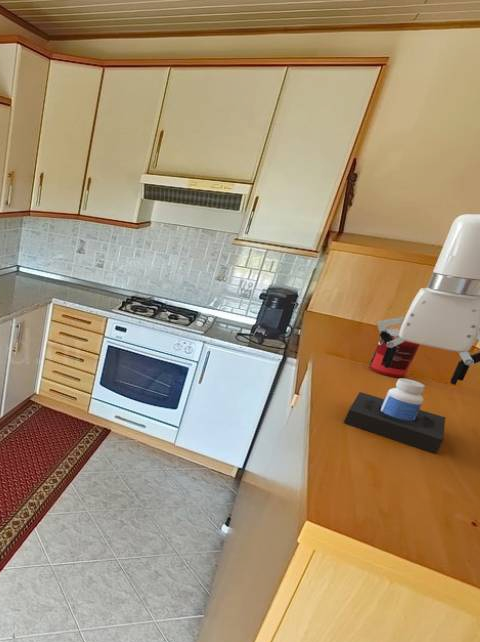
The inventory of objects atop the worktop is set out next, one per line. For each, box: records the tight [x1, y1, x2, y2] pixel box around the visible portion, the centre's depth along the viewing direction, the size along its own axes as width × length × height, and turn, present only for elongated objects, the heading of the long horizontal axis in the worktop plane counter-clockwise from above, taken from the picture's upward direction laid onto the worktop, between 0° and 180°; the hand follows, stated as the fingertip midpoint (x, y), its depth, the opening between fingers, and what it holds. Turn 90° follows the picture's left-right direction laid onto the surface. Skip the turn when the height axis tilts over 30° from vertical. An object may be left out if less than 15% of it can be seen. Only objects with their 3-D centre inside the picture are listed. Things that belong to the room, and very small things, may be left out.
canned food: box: [369, 327, 420, 379], centre depth 127 cm, size 8×8×11 cm
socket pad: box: [343, 391, 446, 455], centre depth 97 cm, size 14×14×3 cm
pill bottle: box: [380, 377, 426, 421], centre depth 96 cm, size 6×5×10 cm
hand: (419, 374), depth 93 cm, fingers open, 9 cm apart
